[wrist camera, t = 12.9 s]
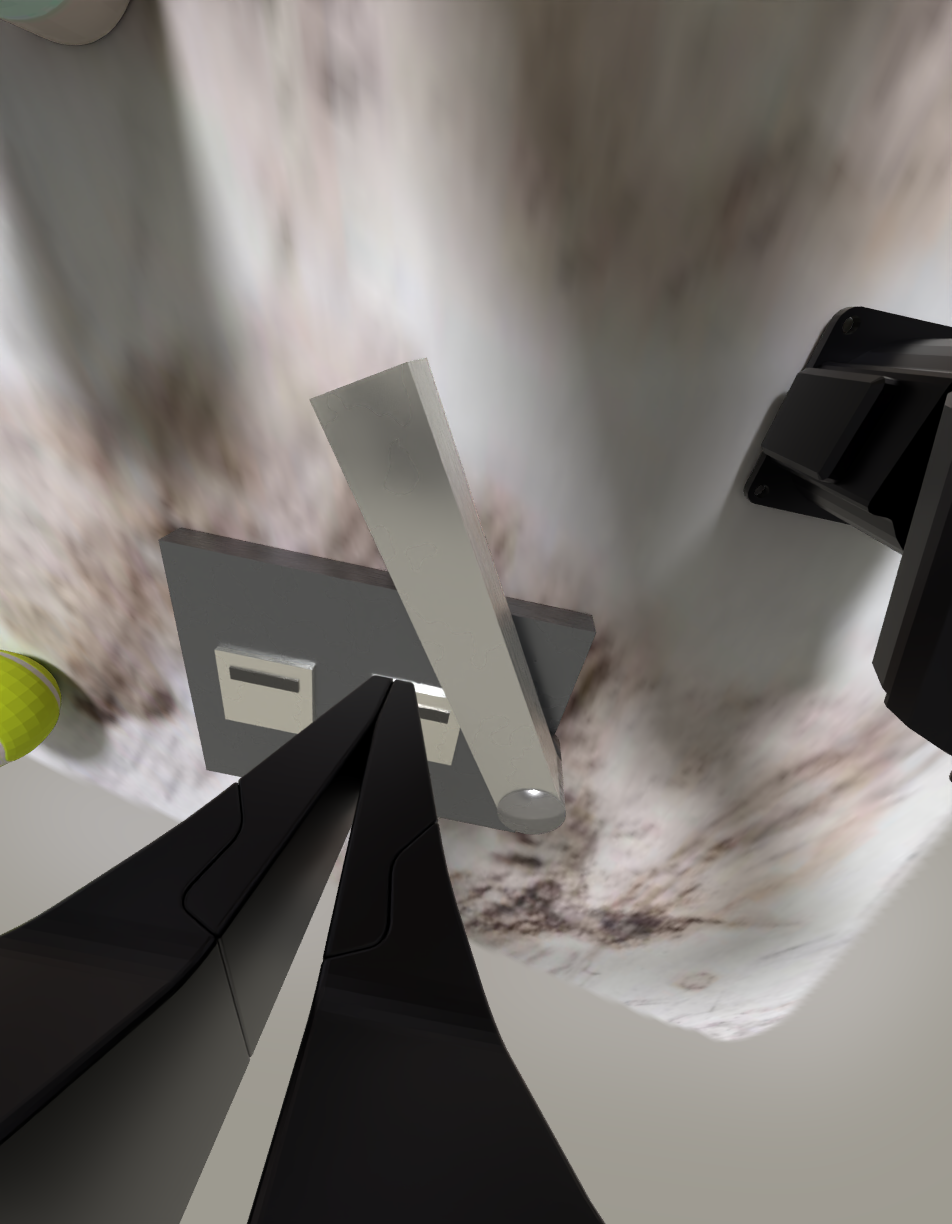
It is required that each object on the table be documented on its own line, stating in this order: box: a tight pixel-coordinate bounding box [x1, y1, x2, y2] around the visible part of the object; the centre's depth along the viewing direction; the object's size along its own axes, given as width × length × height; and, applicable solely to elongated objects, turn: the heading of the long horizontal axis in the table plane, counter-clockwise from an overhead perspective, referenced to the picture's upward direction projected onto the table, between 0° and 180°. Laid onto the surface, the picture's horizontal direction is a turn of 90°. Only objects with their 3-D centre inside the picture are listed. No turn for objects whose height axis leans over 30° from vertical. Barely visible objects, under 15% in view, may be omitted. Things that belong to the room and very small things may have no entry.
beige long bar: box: [309, 358, 566, 834], centre depth 18 cm, size 21×3×3 cm, turn 18°
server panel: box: [159, 528, 596, 833], centre depth 25 cm, size 21×16×2 cm
